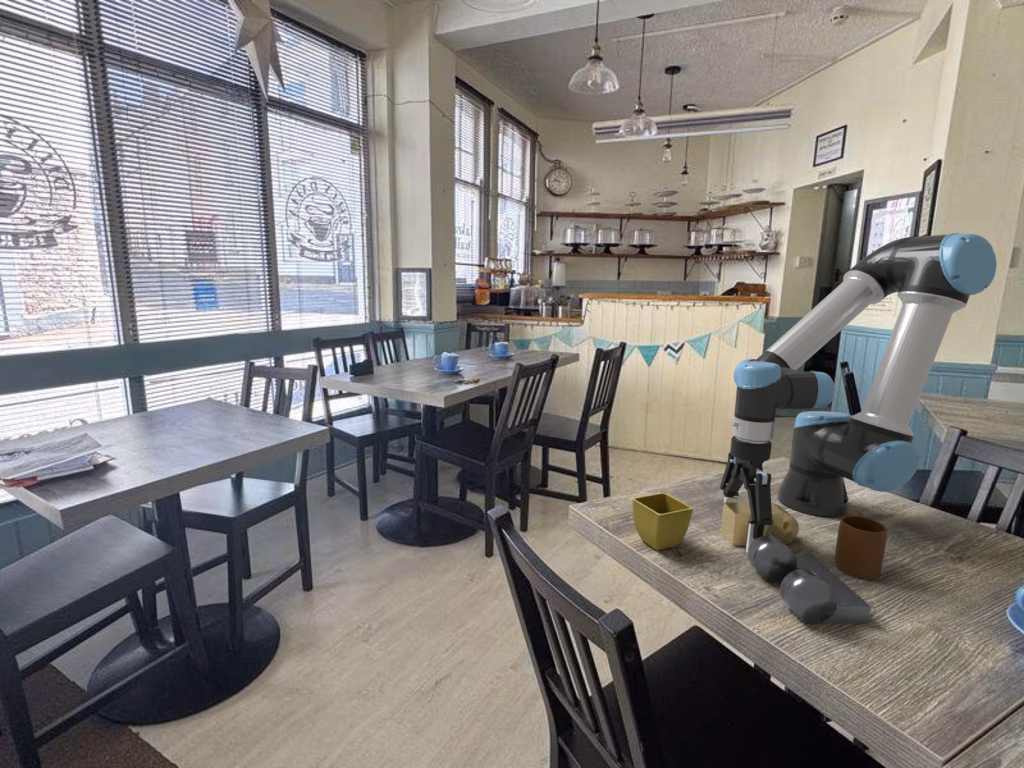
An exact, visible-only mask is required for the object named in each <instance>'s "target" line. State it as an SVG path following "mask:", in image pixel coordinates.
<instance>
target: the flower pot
mask: <svg viewBox="0 0 1024 768" xmlns="http://www.w3.org/2000/svg"><path fill="white" fill-rule="evenodd" d="M631 500H632V516H633V517H632V518H633V523H634V527H635V529H636V532H637V533H638V536H639V538H640V539H641V541H642V542H644V543H645V544H647V545H648V546H649V547H651V548H653V549H654V550H656V551H661V550H665V549H666V550H667V549H670V548H674V547H676V546H678V545H679V543H681V542H682V540H683V539H684V538H685V536H686V534H687V532H688V529H689V526H690V523H691V519H692V515H693V511H694V510H693V509H694V507H692V506H690V505H689V504H686V503H685V502H683V501H681V500H679V499H677V498H676V497H673V496H672V495H670V494H668V493H666V492H660V493H659V492H658V493H653V494H648V495H641V496H636V497H633V498H631Z"/></svg>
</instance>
